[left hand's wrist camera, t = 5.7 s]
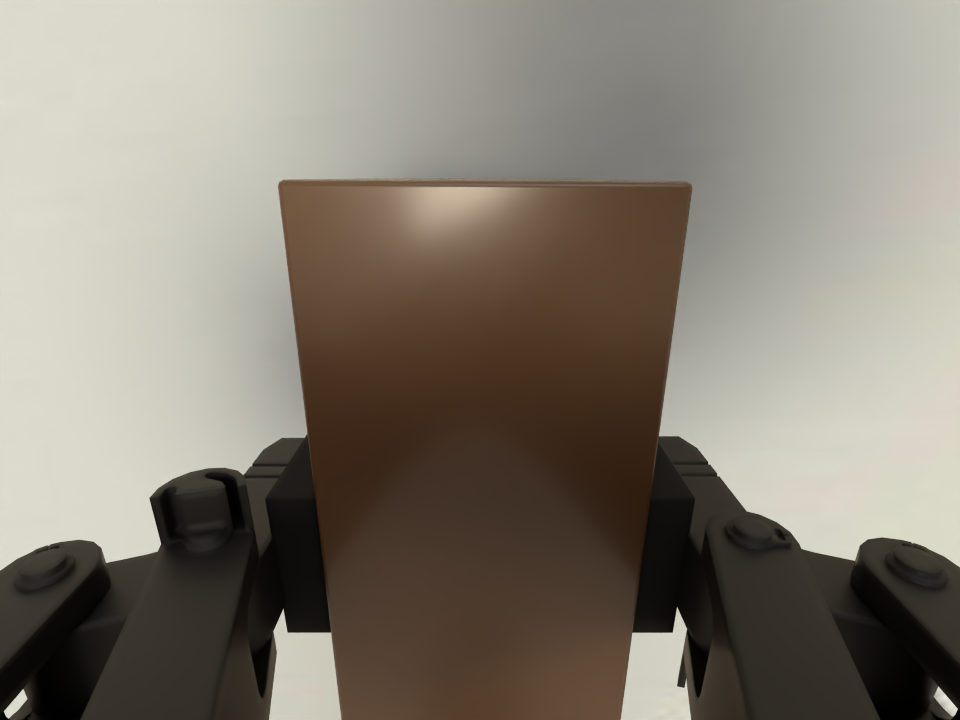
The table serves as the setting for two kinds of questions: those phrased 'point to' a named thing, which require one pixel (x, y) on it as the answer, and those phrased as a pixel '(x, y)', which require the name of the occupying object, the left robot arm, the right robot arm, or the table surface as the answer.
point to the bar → (483, 432)
